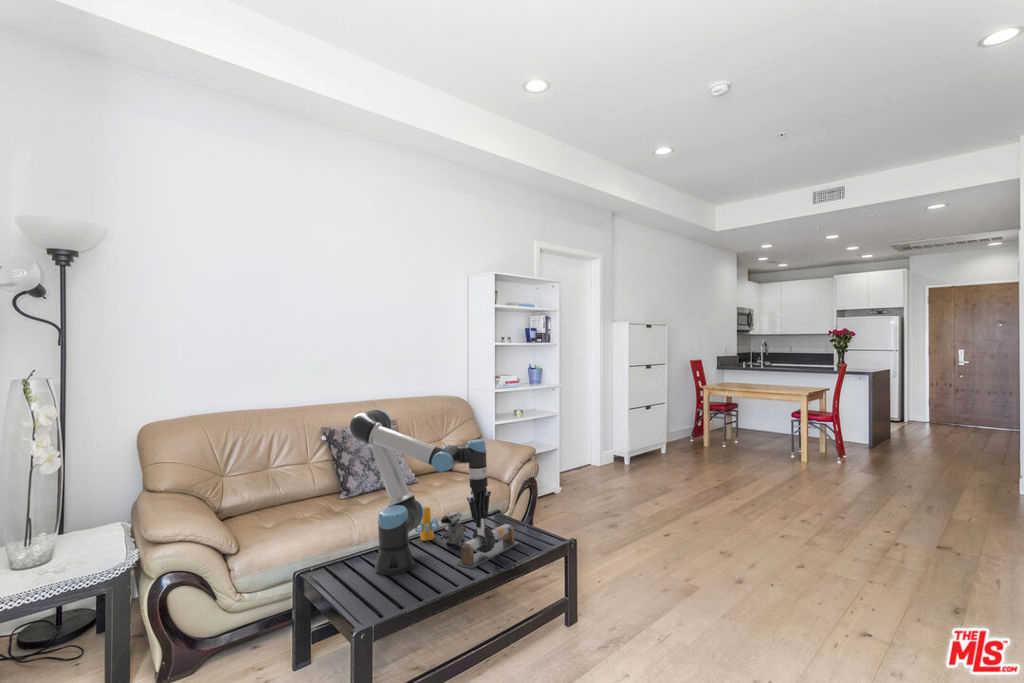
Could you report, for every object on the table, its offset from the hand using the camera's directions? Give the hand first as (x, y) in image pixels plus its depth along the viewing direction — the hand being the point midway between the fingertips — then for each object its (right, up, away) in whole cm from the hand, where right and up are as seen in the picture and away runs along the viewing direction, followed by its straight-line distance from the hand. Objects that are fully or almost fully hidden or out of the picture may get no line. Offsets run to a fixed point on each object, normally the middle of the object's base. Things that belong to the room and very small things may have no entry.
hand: (481, 534), depth 215 cm
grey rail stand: (+3, -10, +4) cm, 11 cm away
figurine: (-13, -11, +13) cm, 22 cm away
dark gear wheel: (+1, -8, +1) cm, 8 cm away
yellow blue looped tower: (-27, -12, +25) cm, 39 cm away
